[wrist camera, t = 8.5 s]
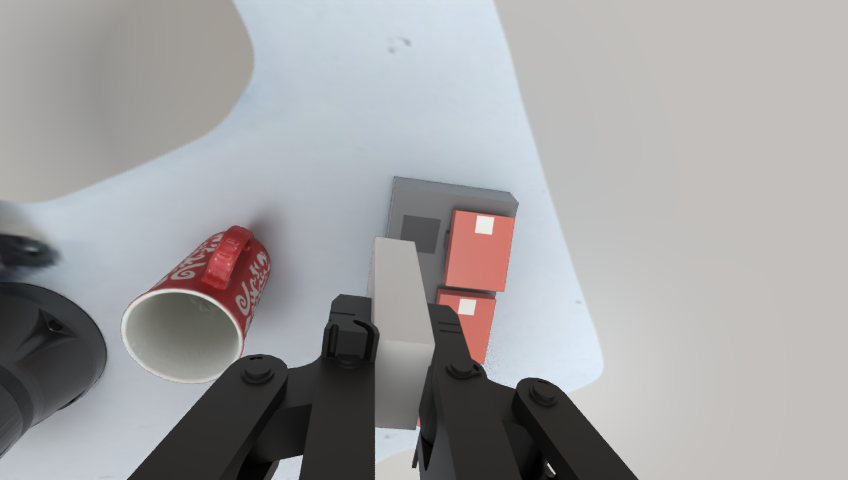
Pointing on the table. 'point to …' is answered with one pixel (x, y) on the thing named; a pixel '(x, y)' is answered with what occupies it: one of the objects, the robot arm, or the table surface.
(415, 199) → the power strip
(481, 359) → the red box
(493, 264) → the block
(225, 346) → the mug
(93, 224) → the table surface
